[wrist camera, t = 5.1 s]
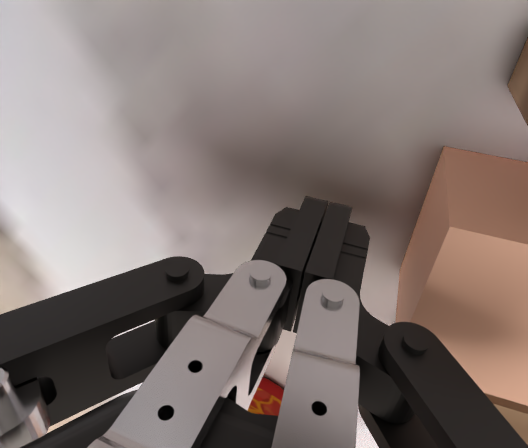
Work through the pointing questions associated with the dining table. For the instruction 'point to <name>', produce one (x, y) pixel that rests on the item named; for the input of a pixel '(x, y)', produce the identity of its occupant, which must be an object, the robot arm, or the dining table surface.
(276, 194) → the dining table surface
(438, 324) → the terracotta block
